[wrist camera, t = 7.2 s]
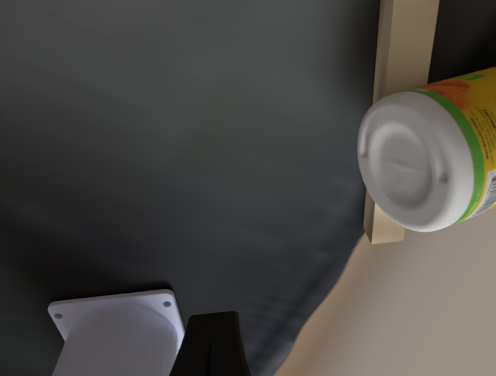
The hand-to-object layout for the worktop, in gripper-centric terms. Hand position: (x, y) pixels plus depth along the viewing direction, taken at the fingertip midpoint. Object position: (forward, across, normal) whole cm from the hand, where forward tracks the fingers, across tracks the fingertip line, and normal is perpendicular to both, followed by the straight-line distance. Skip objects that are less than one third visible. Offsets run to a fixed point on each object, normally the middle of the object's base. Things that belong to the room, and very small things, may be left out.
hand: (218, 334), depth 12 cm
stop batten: (+10, -8, -1) cm, 14 cm away
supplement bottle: (+5, -7, -2) cm, 9 cm away
